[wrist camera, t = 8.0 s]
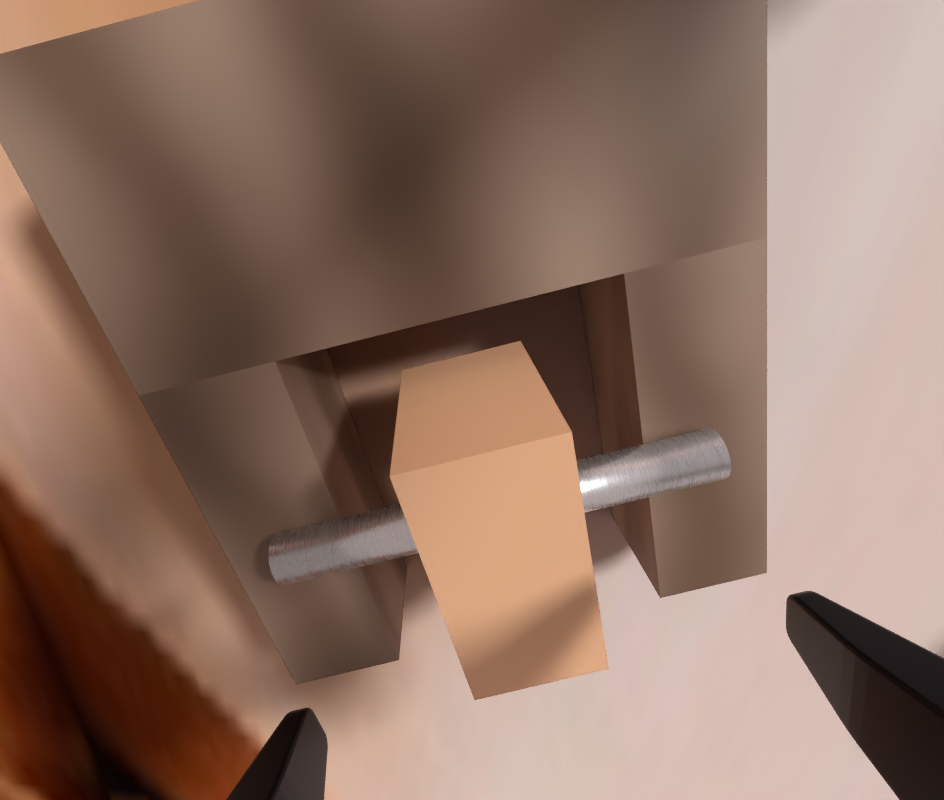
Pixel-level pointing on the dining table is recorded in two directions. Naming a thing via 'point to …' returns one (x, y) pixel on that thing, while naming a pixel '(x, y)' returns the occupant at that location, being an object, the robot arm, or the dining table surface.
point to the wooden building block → (498, 518)
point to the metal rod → (600, 486)
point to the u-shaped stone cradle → (410, 245)
